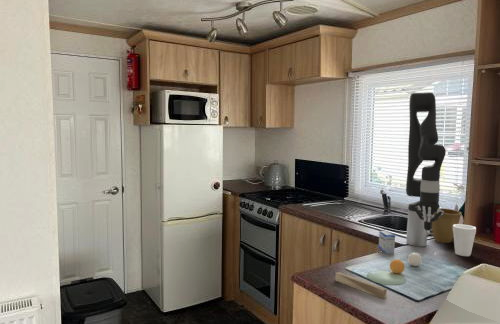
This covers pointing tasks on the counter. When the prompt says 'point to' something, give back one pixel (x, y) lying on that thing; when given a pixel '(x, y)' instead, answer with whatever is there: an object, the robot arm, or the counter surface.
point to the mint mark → (386, 278)
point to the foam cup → (463, 239)
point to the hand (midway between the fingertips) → (427, 230)
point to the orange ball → (397, 266)
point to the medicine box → (386, 242)
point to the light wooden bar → (361, 285)
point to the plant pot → (445, 225)
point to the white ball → (414, 259)
